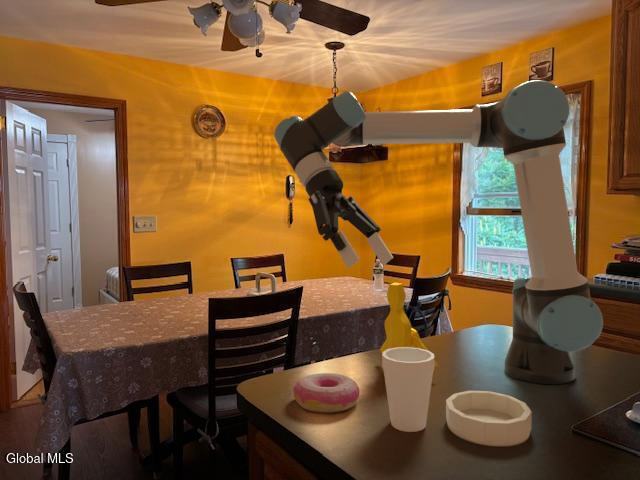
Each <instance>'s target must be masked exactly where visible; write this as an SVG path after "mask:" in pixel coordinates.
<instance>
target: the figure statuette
mask: <svg viewBox="0 0 640 480" xmlns="http://www.w3.org/2000/svg"><path fill="white" fill-rule="evenodd" d="M386 299H387V302H388V305H389V308H390V312H389V314H388V315H387V317H386V319H385V320H384V330H385V335H386V339H385V341H384V343H383V344H382V346H381V347H380V348H379V351H380V353H381V354H383V351H385V350H388V349H391V348H397V347H412V348H420V349H424V350H428V348H427V347H426V346H425V344H424V342H423V341H422V339H421V337H420V335H419V332H418V331H417V330H416V329H415V328H414V327H413V326H412V324H411V322H410V319H409V318H408V316H407V313H405V310H404V307H405V302H406V291H405V288H404V284H403V283H400V282H393V283H390V284H389V285H388V287H387V292H386ZM436 367H438V363H437V362H436V360H435V359H434V368H436Z"/></svg>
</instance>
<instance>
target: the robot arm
mask: <svg viewBox="0 0 640 480" xmlns="http://www.w3.org/2000/svg"><path fill="white" fill-rule="evenodd" d="M569 103H570V102H569V99H568V97H567V95H566V94H565V92H564V91H563V90H562V89H561V88H560V87H559V86H557V85H556V84H554V83H552V82H550V81H546V80H541V79H537V80H536V79H534V80H530V81H526V82H523V83H521V84H519V85H517V86H516V87H513V88H512V89H510V91H509V92H508V93H507V94H506V95H505V97H504V98H503V99H501V100H499V101H495V102H493V103H488V104H475V105H474V107H472V108H471V109H448V110H447V109H445V110H444V109H442V110H439V109H438V110H436V109H435V110H407V111H406V110H404V111H403V110H401V111H399V110H398V111H395V110H394V111H364V109H363V107H362V105H361V104H360V102H359V100H358V99H357V97H356V96H355V95H354V93H353V92H351V91H349V90H345V91H344V92H342V93H340V94H339V95H337V96H334V97H333V99H331V100H330V101H328V102H327V103H326V104H324V105H323V106H321V107H320V108H319V109H318V110H316V111H315V112H314V113H312V114H311V115H310V116H308V117H307V118H304V119H302V117H300V116H299V115H291V116H290V117H287V118H284V119H282V120H281V121H280V122H279V123H278V124H277V126H276V127H275V129H274V133H273V136H274V138H275V141H276V143H277V145H278V147H279V150H280V151H281V153H282V154H283V156H284V158H285V159H286V161H287V162H288V164H289V166H290V167H291V169H292V170H293V172H294V173H295V174H296V177H297V178H298V179H299V182H298V183H300V184H301V185H302V186H303V188H305V192H306V194H307V195H308V197H309V198H308V202H309V203H310V205H311V207H312V211H313V216H314V220H315V224H316V228H317V232H318V235H320V236H322V239H323V240H324V241H326V242H327V241H329V240H330V241H331V243H332V244H333V246H334V247H335V249H336V251H337V253H338V254H339V256H340V257H341V259H342V261H343V263H344V264H345V266H346V268H351V267H352V266H355V264H356V263H358V261H360V260H361V259H360V257H359V255H358V254H357V252H356V251H355V249H354V247H353V246H352V244H351V242H350V241H349V239H348V237H347V236H346V235H345V233H344V231H343V230H340V229H339V218H341V219H342V220H343V221H346V222H347V221H348V222H349V223H350V224H351V225H353V227H355V228H356V229H357V230H358V231H359V232H360V233H361V234H363V235H364V236H365V237H366V238H367V239H366V242H367V243H368V245H369V246H370V248H371V249H372V251H373V252H374V254H375V255H376V257H377V259H378V260H379V262H380V263H381V265H382V266H385V265H386V264H388V262H390V261H391V260H393V259H394V256H393V255H392V253H391V251H390V250H389V248H388V247H387V245H386V244H385V241H383V238H382V237H381V235H380V234H379V232H380V231H382V230H381V227H380V226H379V225H378V224H377V223H376V222H375V221H374V220H373V219H372V218H371V216H369V214H368V213H366V211H365V210H364V209H363V208H362V207H361V206H360V205H359V204H358V203H357V201H356V200H355V198H354V197H353V196H351V195H350V196H349V197H348V198H347V197H346V196H345V195H344V194H343V188H344V182H343V180H342V179H341V177H340V175H339V174H338V173H337V170H335V168H334V167H335V166H333V164H332V163H331V161H330V160H329V158H328V157H327V155H326V153H325V152H324V149H326V148H328V147H329V146H331V145H332V144H333V145H335V146H337V147H342V148H345V147H349V146H351V145H391V144H392V145H393V144H394V145H395V144H396V145H397V144H399V145H400V144H408V145H409V144H470V145H471V146H473V148H495V149H502V151H503V156H504V159H505V160H507V161H508V162H510V163H511V164H512V165H513V169H514V170H513V171H514V175H515V176H514V177H515V181H516V182H515V183H516V187H517V194H518V199H519V206H520V211H521V218H522V224H523V230H524V236H525V243H526V249H527V250H526V251H527V255H528V261H529V267H530V272H531V274H530V275H531V277H518V278H515V279H514V280H513V286H512V290H511V293H512V339H511V342H510V345H509V348H508V350H507V353H506V356H505V358H504V372H505V373H506V374H507V375H509V377H512V378H514V379H517V380H520V381H524V382H527V383H528V382H529V383H533V384H540V385H541V384H542V385H563V384H568V383H571V382H573V381H574V380H575V379H576V376H575V371H576V368H575V365H574V362H573V359H572V357H571V353H572V352H574V353H575V352H579V351H582V350H585V349H587V348H589V347H591V346H592V344H594V343H595V342H596V341H597V339H599V337H600V335H601V334H602V331H603V328H604V318H603V313H602V311H601V309H600V308H599V306H598V305H597V304H596V303H595V302H594V301H593V300H592V299H591V294H590V287H589V281H588V278H587V277H586V276H584V275H583V274H581V273H580V272H579V271H578V267H577V266H578V265H577V260H576V252H575V246H574V240H573V234H572V229H571V227H572V226H571V222H570V216H569V209H568V202H567V196H566V191H565V183H564V179H563V178H564V177H563V173H562V165H561V159H560V155H561V153H562V151H563V150H564V149H565V147H566V146H567V142H566V135H565V129H564V127H565V125H566V124H567V122H568V119H569V116H570V104H569ZM339 230H340V231H339Z"/></svg>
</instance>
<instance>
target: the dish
mask: <svg viewBox="0 0 640 480" xmlns="http://www.w3.org/2000/svg"><path fill="white" fill-rule="evenodd" d="M532 412H533V411H532V410H531V409H530V407H529V406H528V405H527V403H526V402H524V401H522V400H519V399H517V398H515V397H513V396H511V395H508V394H503V393H499V392H494V391H491V390H488V391H487V390H465V391H461V392H456V393H453V394H452V395H451V396H449V397H448V398H447V399H445V418H446V426H447V428H448V430H450V432H451V434H454V435H455V436H457V437H459V438H460V439H462V440H464V441H467V442H469V443H473V444H477V445H481V446H488V447H496V448H497V447H499V448H500V447H502V448H504V447H513V446H517V445H521V444H523V443H525V442H527V440H529V438H530V436H531V435H530V434H531V431H532V414H533V413H532Z"/></svg>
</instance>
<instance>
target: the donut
mask: <svg viewBox="0 0 640 480" xmlns="http://www.w3.org/2000/svg"><path fill="white" fill-rule="evenodd" d="M293 396H294V397H293V398H294V399H295V401H296V402H297V404H298V405H299V406H300V407H302V408H303V409H305V410H306V411H311V412H315V413H323V414H325V413H326V414H330V413H339V412H344V411H348V410H349V409H351V408H353V406H355V405H356V404H357V402H358V401H359V399H360V388H359V385H358V383H357V382H356V381H355V380H353V379H352V378H351V377H349V376H347V375H345V374H341V373H332V372H328V373H327V372H321V373H313V374H309V375H306V376H303V377H301V378H300V379H299V380H298V381H296V383H295V385H294V387H293Z"/></svg>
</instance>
